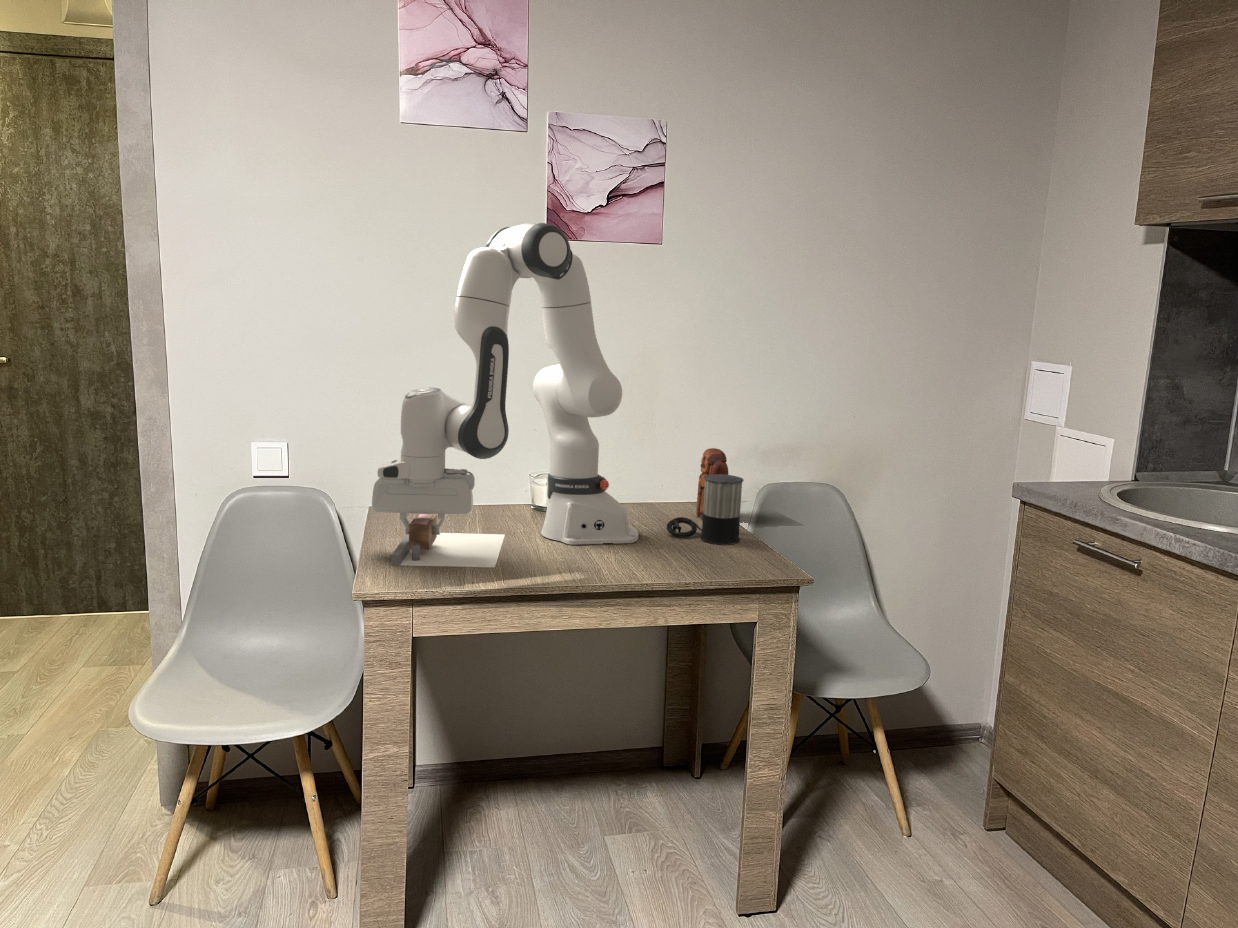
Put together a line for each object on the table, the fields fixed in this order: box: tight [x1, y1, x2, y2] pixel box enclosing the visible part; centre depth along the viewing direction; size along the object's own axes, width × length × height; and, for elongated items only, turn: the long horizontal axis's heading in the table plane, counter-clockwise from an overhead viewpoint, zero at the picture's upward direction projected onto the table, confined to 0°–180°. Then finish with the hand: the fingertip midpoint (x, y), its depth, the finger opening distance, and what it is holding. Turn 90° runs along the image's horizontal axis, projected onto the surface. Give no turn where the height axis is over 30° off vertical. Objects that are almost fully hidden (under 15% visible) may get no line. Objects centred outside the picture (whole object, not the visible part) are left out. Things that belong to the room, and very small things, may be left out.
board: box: [390, 532, 506, 568], centre depth 188 cm, size 20×26×4 cm
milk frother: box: [666, 474, 744, 545], centre depth 209 cm, size 14×16×15 cm
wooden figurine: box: [695, 447, 729, 521], centre depth 230 cm, size 12×6×18 cm, turn 14°
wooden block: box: [409, 513, 438, 550], centre depth 185 cm, size 4×10×5 cm, turn 3°
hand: (423, 534), depth 185 cm, fingers closed on wooden block, 4 cm apart
